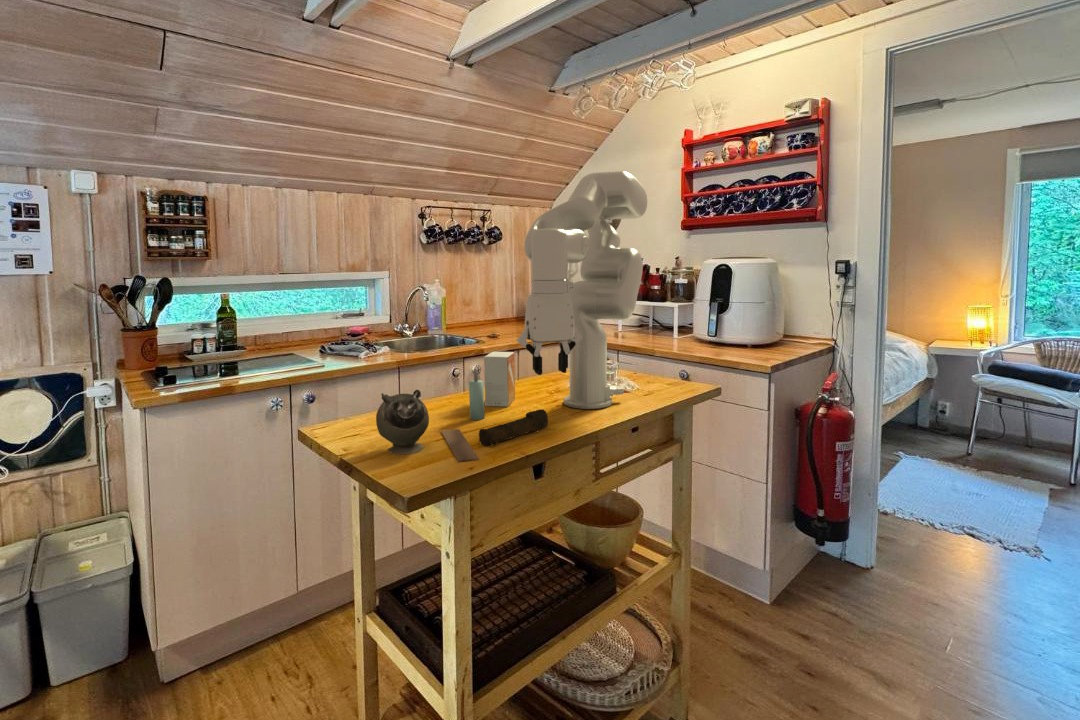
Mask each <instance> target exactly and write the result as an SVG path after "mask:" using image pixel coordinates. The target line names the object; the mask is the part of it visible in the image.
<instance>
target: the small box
mask: <svg viewBox="0 0 1080 720" xmlns="http://www.w3.org/2000/svg"><path fill="white" fill-rule="evenodd" d="M515 356H516V355H515V352H514V351H513V352H512V351H492V352H490V353H488V354H487V355H485V356H484V357H483V363H484V364H483V366H484V367H483V368H484V371H483V372H484V407H501V408H503V407H505V408H507V407H509V406H510V405H511V404H512V403H513V402H514V401H515V400H516V373H515V371H516V370H515V369H516V367H515V366H516V365H515V363H516V360H515Z"/></svg>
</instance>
